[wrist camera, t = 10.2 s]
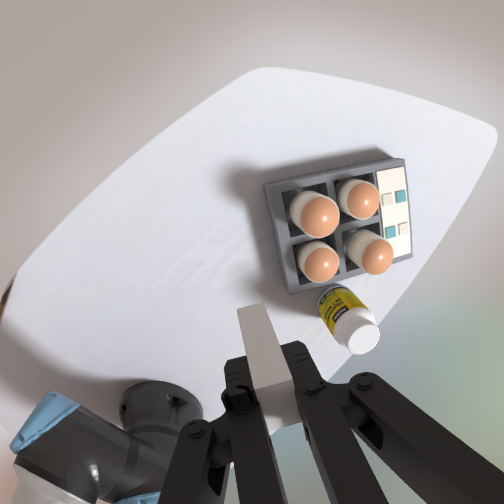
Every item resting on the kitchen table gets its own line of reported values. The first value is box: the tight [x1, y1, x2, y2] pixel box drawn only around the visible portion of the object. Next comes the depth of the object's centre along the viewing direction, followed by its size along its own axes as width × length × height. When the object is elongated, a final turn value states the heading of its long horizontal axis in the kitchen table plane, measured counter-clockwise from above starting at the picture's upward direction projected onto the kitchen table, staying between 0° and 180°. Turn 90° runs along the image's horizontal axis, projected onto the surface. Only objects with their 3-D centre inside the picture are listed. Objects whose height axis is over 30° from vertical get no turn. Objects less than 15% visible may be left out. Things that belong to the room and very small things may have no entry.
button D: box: [334, 178, 380, 220], centre depth 41 cm, size 5×5×5 cm
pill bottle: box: [317, 285, 380, 354], centre depth 44 cm, size 6×6×11 cm
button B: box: [289, 190, 340, 238], centre depth 39 cm, size 5×5×5 cm
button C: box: [347, 229, 394, 275], centre depth 41 cm, size 5×5×5 cm
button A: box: [294, 238, 339, 283], centre depth 43 cm, size 5×5×5 cm
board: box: [264, 158, 413, 295], centre depth 43 cm, size 20×15×3 cm
